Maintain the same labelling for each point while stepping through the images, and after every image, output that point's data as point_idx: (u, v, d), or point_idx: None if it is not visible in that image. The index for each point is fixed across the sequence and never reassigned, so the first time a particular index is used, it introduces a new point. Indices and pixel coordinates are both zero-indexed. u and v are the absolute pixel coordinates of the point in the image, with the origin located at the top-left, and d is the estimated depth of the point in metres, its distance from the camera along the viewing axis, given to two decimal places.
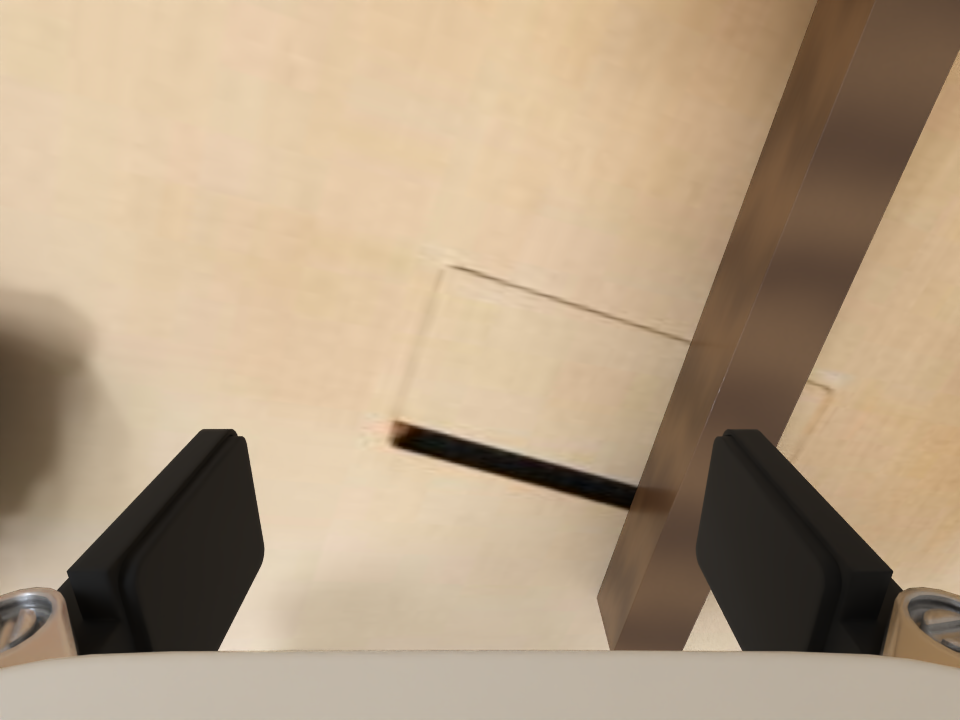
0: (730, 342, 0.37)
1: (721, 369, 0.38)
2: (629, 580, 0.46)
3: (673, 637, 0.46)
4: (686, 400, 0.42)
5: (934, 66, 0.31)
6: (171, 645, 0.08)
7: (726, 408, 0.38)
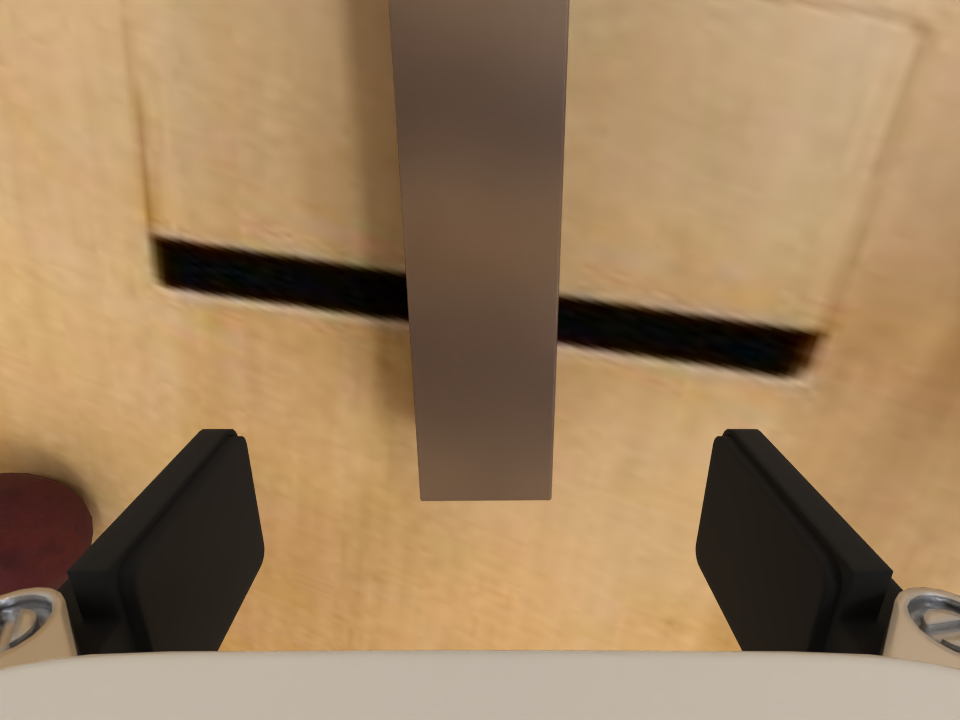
0: None
1: None
2: None
3: None
4: None
5: None
6: (171, 645, 0.08)
7: None
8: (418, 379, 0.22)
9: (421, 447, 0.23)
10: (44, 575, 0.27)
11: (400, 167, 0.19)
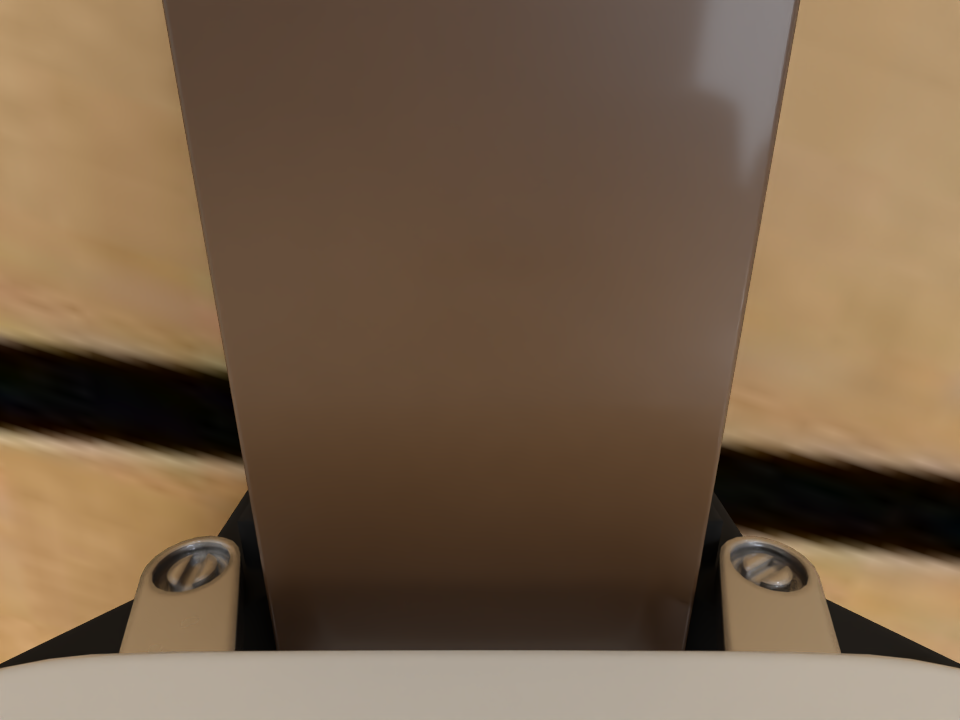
0: None
1: None
2: None
3: None
4: None
5: None
6: None
7: None
8: None
9: None
10: None
11: (194, 177, 0.05)
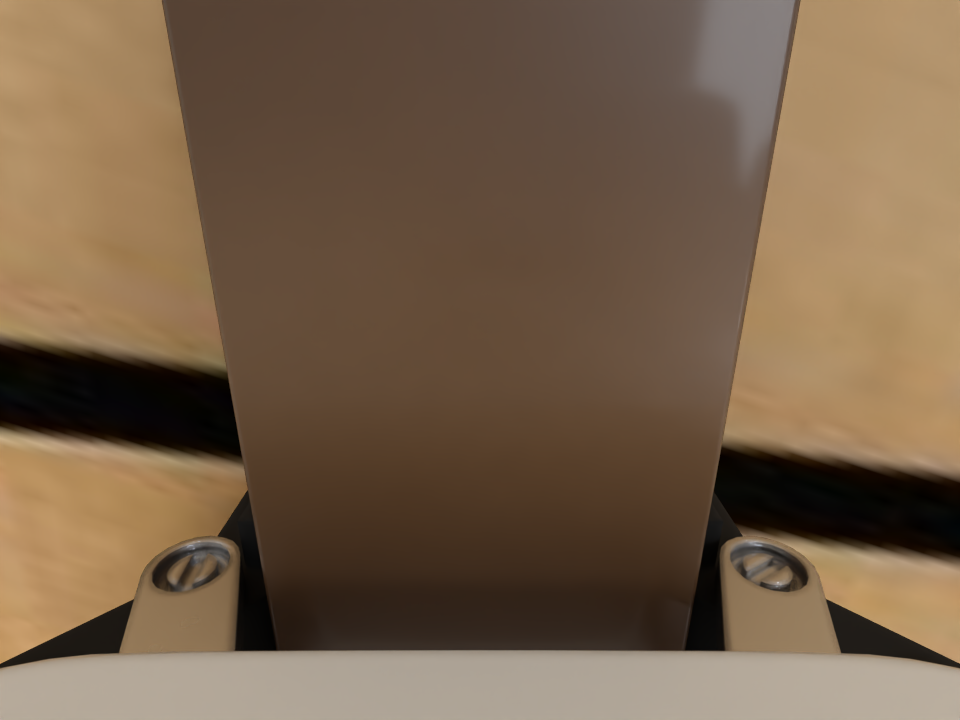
0: None
1: None
2: None
3: None
4: None
5: None
6: None
7: None
8: None
9: None
10: None
11: (194, 177, 0.05)
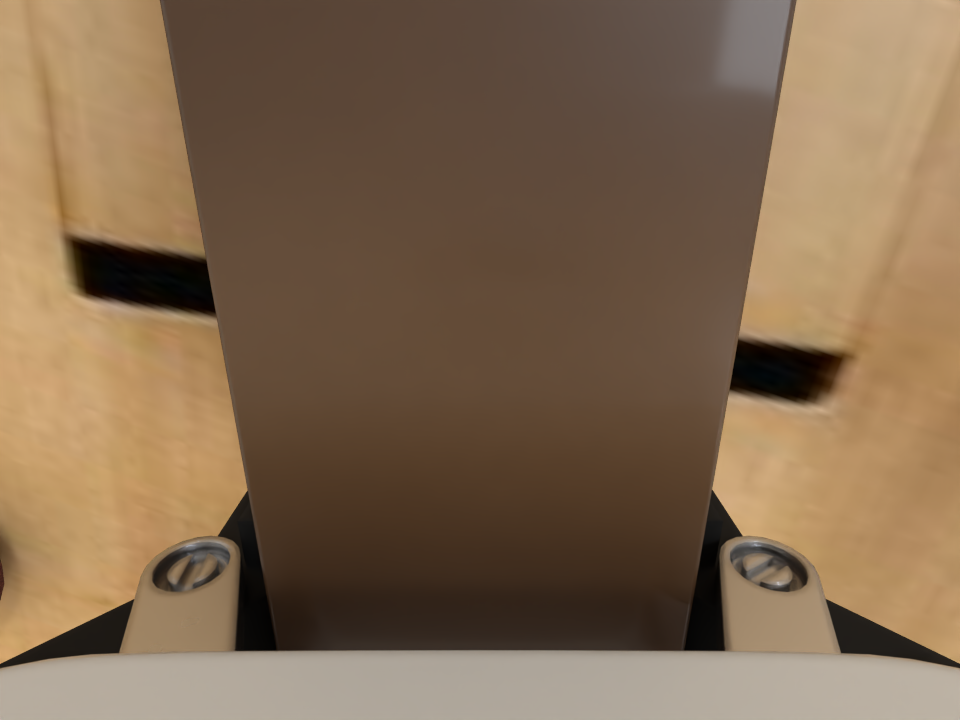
0: None
1: None
2: None
3: None
4: None
5: None
6: None
7: None
8: None
9: None
10: None
11: (193, 179, 0.05)
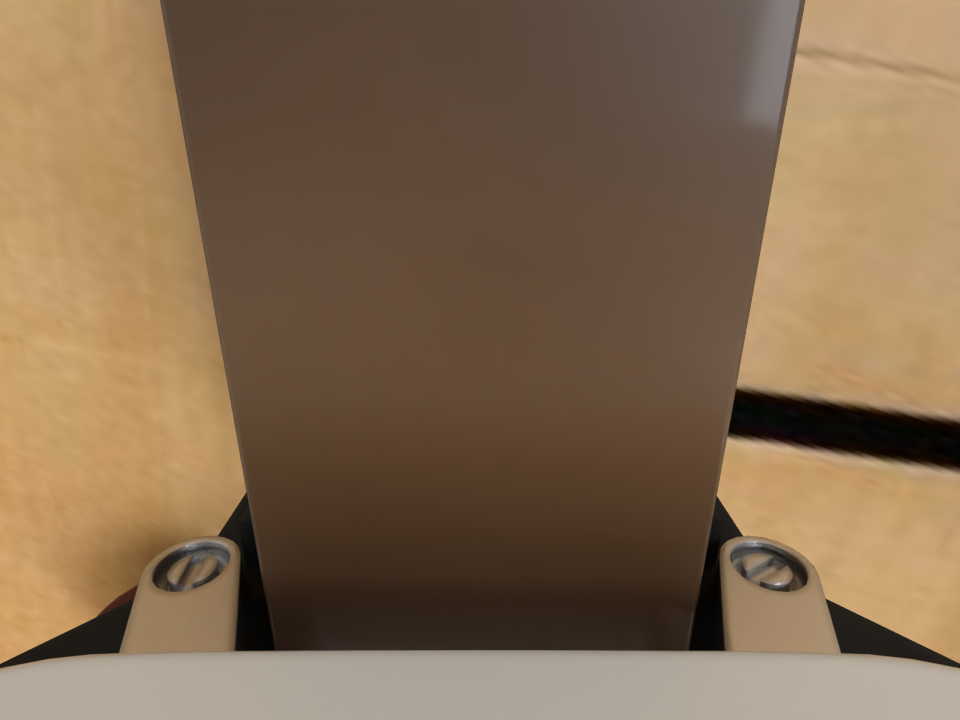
0: None
1: None
2: None
3: None
4: None
5: None
6: None
7: None
8: None
9: None
10: None
11: (192, 177, 0.05)
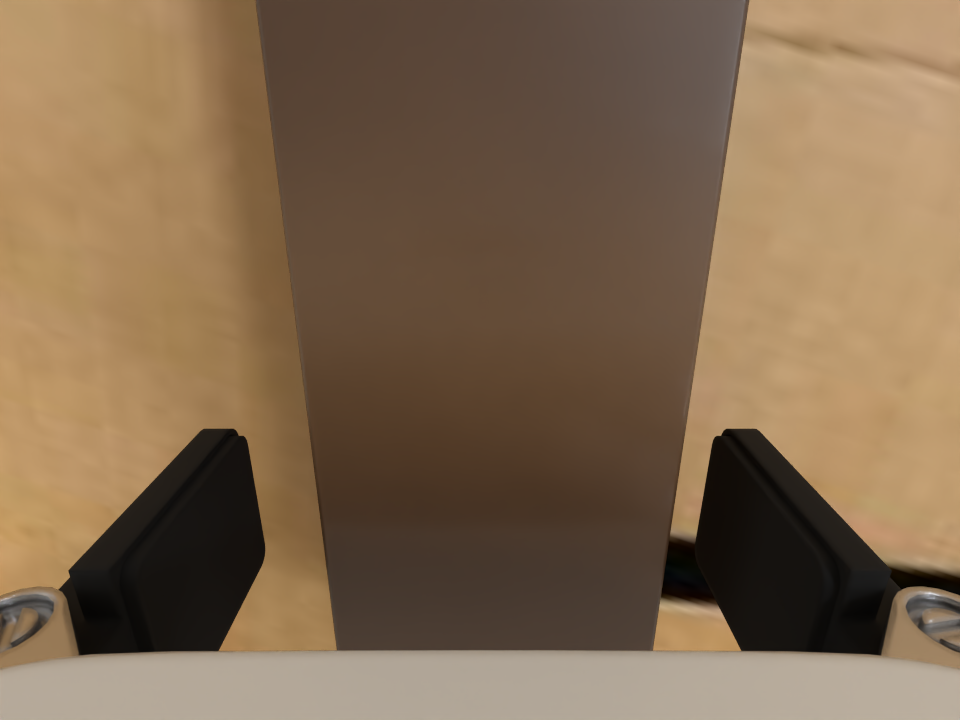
0: None
1: None
2: None
3: None
4: None
5: None
6: (172, 645, 0.08)
7: None
8: (348, 643, 0.10)
9: None
10: None
11: (278, 167, 0.07)
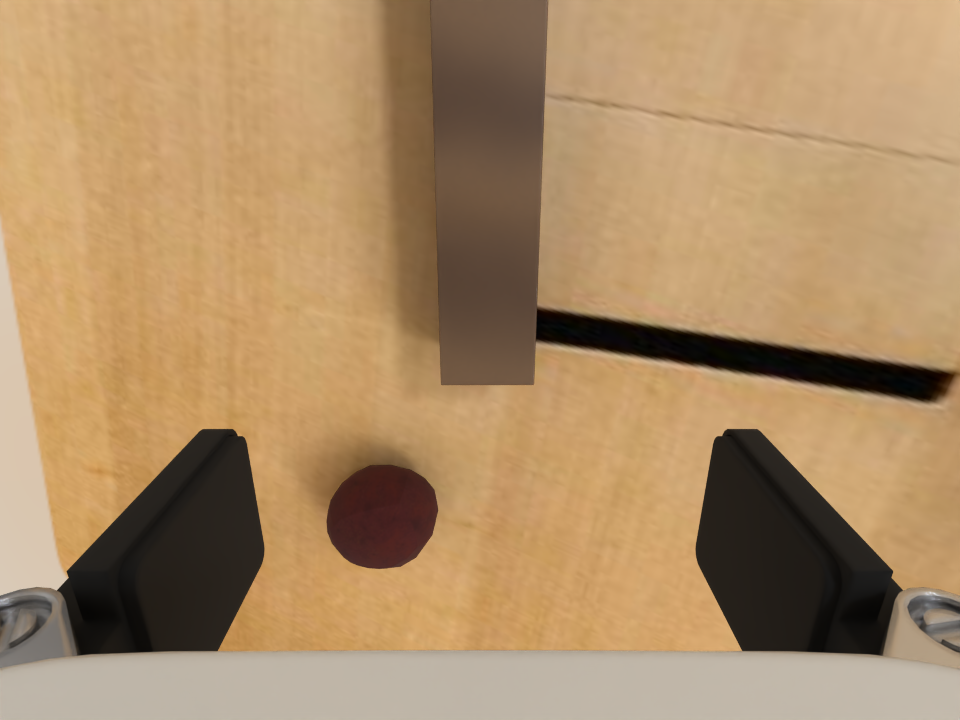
0: None
1: None
2: None
3: None
4: None
5: None
6: (171, 645, 0.08)
7: None
8: (442, 293, 0.31)
9: (443, 344, 0.32)
10: (427, 535, 0.39)
11: (434, 144, 0.29)
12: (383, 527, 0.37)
